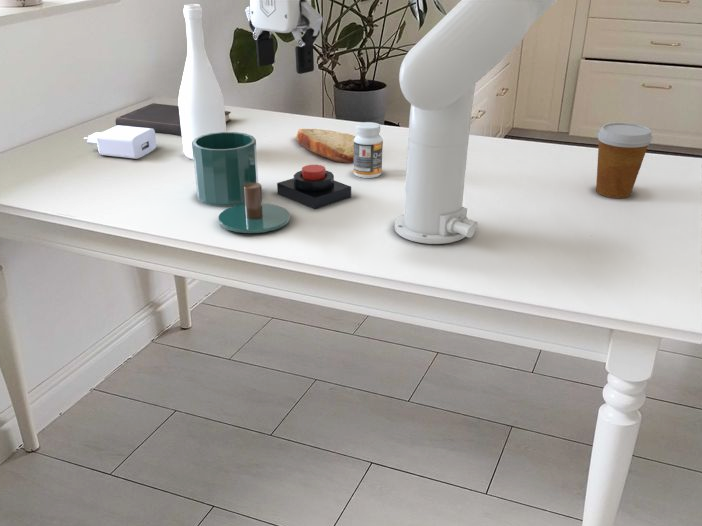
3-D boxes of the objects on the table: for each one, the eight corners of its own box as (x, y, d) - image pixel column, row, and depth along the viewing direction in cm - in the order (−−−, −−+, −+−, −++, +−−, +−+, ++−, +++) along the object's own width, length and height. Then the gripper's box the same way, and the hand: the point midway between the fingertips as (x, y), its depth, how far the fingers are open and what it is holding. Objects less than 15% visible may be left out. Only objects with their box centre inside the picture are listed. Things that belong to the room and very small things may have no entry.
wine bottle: (235, 156, 163) (225, 5, 147) (196, 164, 158) (180, 9, 142) (215, 146, 169) (203, 0, 154) (176, 153, 165) (160, 4, 149)
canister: (270, 196, 142) (267, 141, 136) (220, 211, 136) (215, 154, 130) (235, 181, 149) (231, 128, 144) (186, 195, 143) (180, 140, 137)
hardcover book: (154, 112, 195) (152, 103, 194) (231, 121, 187) (230, 111, 186) (116, 128, 183) (114, 118, 182) (197, 138, 175) (196, 128, 174)
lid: (304, 223, 131) (303, 186, 127) (246, 242, 124) (244, 204, 120) (261, 204, 139) (259, 168, 135) (205, 221, 132) (201, 184, 128)
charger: (99, 142, 173) (157, 148, 168) (76, 154, 165) (135, 160, 161) (96, 121, 170) (154, 126, 166) (71, 132, 163) (132, 138, 159)
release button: (330, 177, 140) (330, 168, 139) (312, 183, 137) (312, 173, 137) (314, 171, 143) (314, 162, 142) (297, 177, 140) (296, 168, 139)
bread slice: (300, 135, 176) (299, 119, 174) (375, 140, 172) (375, 124, 170) (275, 158, 161) (274, 141, 159) (357, 165, 157) (357, 147, 155)
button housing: (351, 197, 141) (351, 177, 139) (315, 209, 136) (314, 188, 134) (313, 183, 148) (312, 163, 146) (277, 194, 143) (276, 173, 141)
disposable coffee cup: (585, 198, 140) (597, 133, 134) (588, 181, 147) (600, 120, 141) (639, 204, 137) (654, 138, 131) (640, 187, 145) (654, 124, 138)
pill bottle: (379, 179, 149) (381, 129, 144) (351, 178, 150) (351, 128, 145) (383, 170, 154) (385, 121, 149) (355, 169, 155) (356, 120, 150)
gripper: (224, -51, 116) (234, 65, 125) (297, -48, 105) (303, 79, 114) (262, -55, 120) (269, 58, 129) (336, -52, 109) (339, 71, 118)
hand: (285, 68), depth 121 cm, fingers open, 9 cm apart
